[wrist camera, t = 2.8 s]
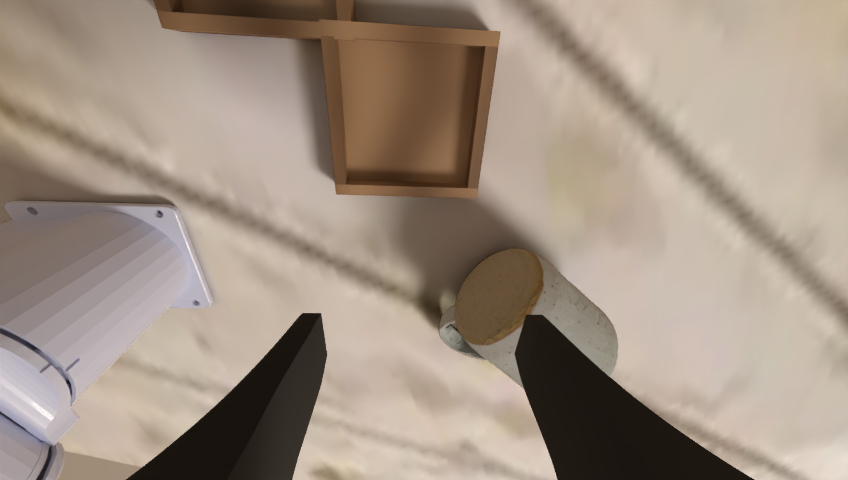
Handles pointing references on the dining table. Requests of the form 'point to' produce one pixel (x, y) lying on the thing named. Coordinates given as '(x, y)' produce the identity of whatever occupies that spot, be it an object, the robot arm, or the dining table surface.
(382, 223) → the dining table surface
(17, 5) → the dining table surface
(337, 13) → the tray
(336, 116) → the tray
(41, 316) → the robot arm
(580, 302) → the ceramic mug
